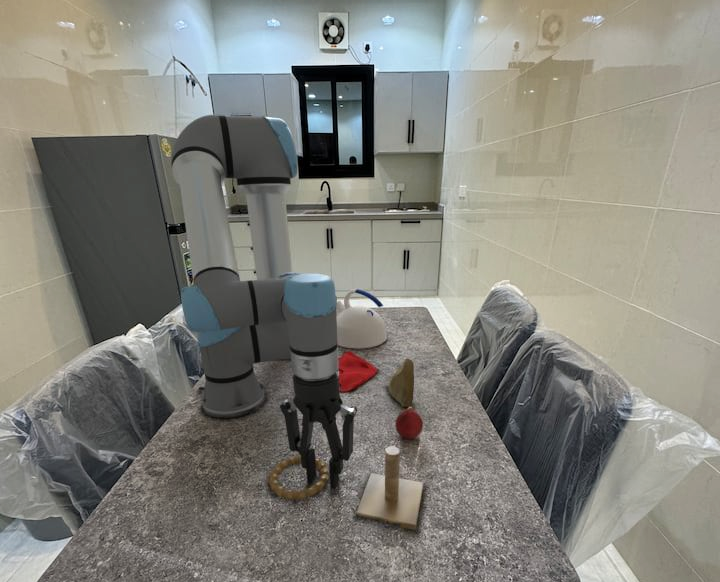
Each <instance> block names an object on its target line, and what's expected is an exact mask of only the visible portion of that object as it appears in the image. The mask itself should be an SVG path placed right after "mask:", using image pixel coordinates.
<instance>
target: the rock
mask: <svg viewBox="0 0 720 582" xmlns="http://www.w3.org/2000/svg"><path fill="white" fill-rule="evenodd" d="M414 365H415V363H414V361H413V360H411V359H409V358H405V359H404V361H403V362H402V363H401V364H400V365H399V367H398V369H396V372H395V374H393V375H392V377H391V379H390V381H389V384H388V386H387V389H388V392H389V393H388V394H389V395H390V396H391V397H392V398H393V399H395V400H396V401H397V402H398V403H399V404H400V406H401V407H403V408H406V407H407V408H409V407H412V404H413V401H414V391H415V368H414V367H415V366H414Z"/></svg>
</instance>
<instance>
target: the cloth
mask: <svg viewBox="0 0 720 582" xmlns="http://www.w3.org/2000/svg"><path fill="white" fill-rule="evenodd" d="M338 363H339V369H338V372H339V386H340V392H341V393H345V392H350V391H353V390H355V389H356V388H357V387H359V386H361V385H363V384H364V383H365V382H367V381H368V380H369V379H370V378H371V379H372V377H374V376H375V374H376V373H377V372H378V369H377V367H375V366H374V365H373V364H372V363H370V362H368V361H367V360H365V359H364V358H363V357H360V356H359V355H357V354H356V353H354V352H353V351H352V350H348V351H345V352H344V353H343V354H342V356H341V357H338Z"/></svg>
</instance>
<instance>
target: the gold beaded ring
mask: <svg viewBox="0 0 720 582" xmlns="http://www.w3.org/2000/svg"><path fill="white" fill-rule="evenodd" d="M315 461H316V469H318V471H319V473H320V475H319V476H320V477H319V478H318V480H317V482H315V483H314V484H313V485H311V486H310V487H307V488H304V489H298V490H292V489H287V488H284V487H283V486H282V485H280V483H279V476H280V474H281V473H282V471H283V470H285V469H286V468H288V467H289V466H291V465H292V466H293V465H295V464H301V455H296V456H291V457H288V458H286V459H285V458H284V459H283V460H282V461H280V462H279V463H277V464H276V465H275V466H274V467H273V469H272V470H271V472H270V473H269V478H268V479H269V480H268V485H269V487H270V490H271V491H272V492H273V493H274V494H276V496H279V497H280V498H284V499H289V500H298V499H299V500H300V499H307V498H308V497H311V496H313V495H316V494H318V493H319V492H320V491H321V490H323V489H324V488H325V487H326V486H327V483H328V482H329V480H330V471H329V467H328V466H327V465H326V463H325V462H324V461H323V460H321V459H319V458H317V457H316V456H315Z"/></svg>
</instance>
